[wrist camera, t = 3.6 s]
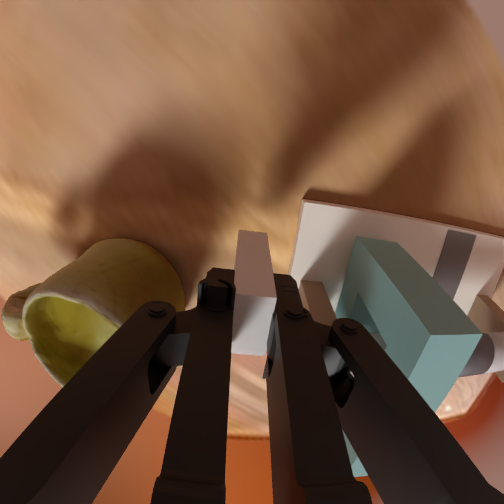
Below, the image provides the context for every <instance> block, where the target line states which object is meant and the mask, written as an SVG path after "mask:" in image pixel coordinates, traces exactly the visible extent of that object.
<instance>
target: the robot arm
mask: <svg viewBox="0 0 504 504" xmlns="http://www.w3.org/2000/svg"><path fill="white" fill-rule="evenodd" d="M266 350H267V353H268V355H267V360H266V365H265V369H264V374H263V378H264V379H265V378H266V382H267V399H268V416H269V434H270V450H271V468H272V488H273V504H372V501H371V497H370V493H369V490H368V488H367V486H366V485H365V484H364V483H363V482H360V481H356V479H355V478H354V475H353V472H352V468H351V463H350V459H349V455H348V451H347V447H346V442H345V438H344V434H343V431H344V433H345V435H346V437H347V438H348V440H349V442H350V444H351V446H352V447H353V449H354V451H355V453H356V454H357V456H358V458H359V460H360V462H361V463H362V465H363V467H364V469H365V471H366V472H367V474H368V476H369V477H370V479H371V481H372V483H373V485H374V486H375V488H376V490H377V492H378V494H379V495H380V497H381V499H382V501H383V502H384V504H504V494H502V493H501V492H500V491H498V490H497V489H495V488H494V487H493V486H491V485H490V484H488V482H487V481H486V480H485V478H484V477H483V476H482V474H481V473H480V471H479V470H478V469H477V467H476V466H475V465H474V464H473V462H472V461H471V459H470V458H469V457H468V455H467V454H466V453H465V452H464V450H463V449H462V447H461V446H460V445H459V444H458V442H457V441H456V440H455V438H454V437H453V436H452V435H451V433H450V432H449V431H448V429H447V428H446V427H445V425H444V424H443V423H442V422H441V420H440V419H439V418H438V416H437V415H436V414H435V413H434V411H433V410H432V409H431V408H430V406H429V405H428V404H427V402H426V401H425V400H424V399H423V397H422V396H421V395H420V394H419V392H418V391H417V390H416V389H415V387H414V386H413V385H412V384H411V383H410V381H409V380H408V379H407V378H406V376H405V375H404V374H403V373H402V371H401V370H400V369H399V368H398V367H397V365H396V364H395V363H394V362H393V360H392V359H391V358H390V357H389V356H388V354H387V353H386V352H385V351H384V350H383V348H382V347H381V346H380V345H379V344H378V342H377V341H376V340H375V339H374V338H373V336H372V335H371V334H370V333H369V332H368V331H367V329H366V328H365V327H364V326H363V325H362V324H361V323H360V322H358V321H356V320H354V319H350V318H338V319H336V320H334V321H333V323H332V326H329V325H325V324H321V323H318V322H316V321H314V320H313V318H312V315H311V313H310V312H309V311H308V310H307V309H306V308H304V307H303V304H302V301H301V297H300V293H299V289H298V286H297V282H296V280H295V279H294V278H293V277H292V276H291V275H285V274H275V273H273V269H272V263H271V256H270V250H269V243H268V237H267V233H264V232H255V231H246V230H239V232H238V240H237V249H236V257H235V266H234V270H230V269H221V268H212V269H211V270H210V271H208V272H207V276H206V278H205V279H203V280H201V281H200V282H199V284H198V298H197V307H195V308H193V309H191V310H187V311H178V312H176V310H175V307H174V306H173V305H172V304H170V303H168V302H165V301H150V302H146V303H144V304H143V305H141V306H140V307H139V308H138V309H137V310H136V311H135V312H134V313H133V314H132V315H131V316H130V317H129V318H128V319H127V320H126V321H125V323H124V324H123V325H122V326H121V327H120V328H119V329H118V330H117V331H116V332H115V333H114V334H113V335H112V336H111V337H110V338H109V339H108V340H107V341H106V342H105V343H104V344H103V345H102V346H101V347H100V348H99V349H98V350H97V352H96V353H95V354H94V355H93V356H92V357H91V358H90V359H89V360H88V361H87V362H86V363H85V364H84V365H83V366H82V367H81V368H80V369H79V371H78V372H77V373H76V374H75V375H74V376H73V377H72V378H71V379H70V380H69V381H68V382H67V383H66V385H65V386H64V387H63V388H62V389H61V390H60V391H59V392H58V393H57V394H56V395H55V397H54V398H53V399H52V400H51V401H50V402H49V403H48V405H46V406H45V408H44V409H43V410H42V411H41V412H40V413H39V414H38V415H37V417H36V418H35V419H34V420H33V421H32V422H31V423H30V425H29V426H28V427H27V428H26V429H25V430H24V431H23V432H22V434H21V435H20V436H19V437H18V438H17V439H16V441H15V442H14V443H13V444H12V445H11V446H10V448H9V449H8V450H7V451H6V452H5V453H4V454H3V456H2V457H1V458H0V504H92V502H93V501H94V499H95V497H96V496H97V494H98V493H99V491H100V490H101V488H102V487H103V485H104V483H105V481H106V480H107V479H108V477H109V475H110V474H111V472H112V471H113V469H114V467H115V466H116V464H117V463H118V461H119V459H120V458H121V456H122V455H123V453H124V451H125V450H126V448H127V446H128V445H129V443H130V442H131V440H132V439H133V437H134V436H135V434H136V432H137V431H138V429H139V428H140V426H141V424H142V423H143V421H144V420H145V418H146V416H147V415H148V413H149V412H150V410H151V409H152V407H153V405H154V404H155V402H156V401H157V399H158V397H159V396H160V394H161V393H162V391H163V389H164V388H165V386H166V385H167V383H168V382H169V380H170V378H171V377H172V375H173V374H174V372H175V370H176V367H177V366H180V365H183V367H182V372H181V376H180V381H179V386H178V390H177V395H176V400H175V404H174V409H173V414H172V419H171V424H170V429H169V434H168V439H167V444H166V449H165V454H164V459H163V465H162V470H161V474H160V476H158V477H157V478H156V481H155V485H154V488H153V493H152V499H151V504H225V493H226V491H225V490H226V488H225V464H226V441H227V421H228V402H229V383H230V365H231V353H235V354H246V355H258V356H265V355H266ZM350 372H352V374H353V376H354V377H353V376H352V374H351V373H350ZM342 429H343V430H342Z"/></svg>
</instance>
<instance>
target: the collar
mask: <svg viewBox="0 0 504 504" xmlns="http://www.w3.org/2000/svg"><path fill="white" fill-rule="evenodd" d="M335 315H336V318H337V319H338V318H350V319H354V320H356V321H358V322H360V323H361V324H362V325H363V326H364V327H365V328H366V329H367V331H368V332H369V333H380V334H381V335H382V337H383V339H384V341H385V343H386V345H387V347H386V349H385V352H386V353H387V354H388V356H389V357H390V358H391V359H392V360H393V362H394V363H395V364H396V365H397V367H398V368H399V369H400V370H401V371H402V373H403V374H404V375H405V376H406V378H407V379H408V380H409V381H410V383H411V384H412V385H413V386H414V387H415V389H416V390H417V391H418V392H419V394H420V395H421V396H422V397H423V399H424V400H425V401H426V402H427V404H428V405H429V406H430V408H431V409H432V410H433V411H434V413H435V411H436V410H437V409H438V407H439V406H440V404H441V403H442V401H443V400H444V398H445V397H446V395H447V394H448V392H449V391H450V389H451V388H452V386H453V385H454V383H455V382H456V380H457V378H458V377H459V375H460V373H461V372H462V370H463V368H464V367H465V365H466V363H467V362H468V360H469V358H470V356H471V355H472V353H473V351H474V349H475V347H476V346H477V344H478V342H479V340H480V338H481V336H482V332H481V331H480V330H479V329H478V328H477V326H476V325H475V324H474V323H473V322H472V321H471V319H470V318H469V317H468V316H467V315H466V314H465V313H464V312H463V310H462V309H461V308H460V307H459V306H458V305H457V304H456V303H455V301H454V300H453V299H452V298H451V297H450V296H449V295H448V294H447V293H446V292H445V291H444V290H443V288H442V287H441V286H440V285H439V284H438V283H437V282H436V281H435V280H434V279H433V278H432V277H431V276H430V275H429V274H428V273H427V272H426V271H425V270H424V269H423V268H422V267H421V266H420V265H419V264H418V263H417V262H416V261H415V260H414V259H413V258H412V257H411V256H410V255H409V254H408V253H407V252H406V251H405V250H404V249H403V248H402V247H401V246H400V245H399V244H398V243H397V242H392V241H385V240H378V239H371V238H364V237H357V236H356V238H355V242H354V246H353V250H352V254H351V258H350V262H349V265H348V269H347V273H346V276H345V280H344V284H343V287H342V291H341V294H340V297H339V301H338V304H337V308H336V311H335ZM342 430H343V429H342ZM343 434H344V438H345V442H346V447H347V451H348V455H349V459H350V463H351V468H352V472H353V475H354V477H358V476H366V475H368V474H367V472H366V471H365V469H364V467H363V465H362V463H361V462H360V460H359V458H358V456H357V454H356V453H355V451H354V449H353V447H352V446H351V444H350V442H349V440H348V438H347V437H346V435H345V433H344V431H343Z"/></svg>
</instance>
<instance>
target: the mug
mask: <svg viewBox="0 0 504 504" xmlns="http://www.w3.org/2000/svg"><path fill="white" fill-rule="evenodd" d="M150 301H165V302H168V303H170V304H172V305H173V306H174V307H175V310H176V312H178V311H185V295H184V291H183V288H182V284H181V281H180V279H179V276H178V274H177V273H176V271H175V270H174V268H173V267H172V266H171V265H170V263H169V262H168V261H167V260H166V259H165V258H164V257H163V256H162V255H161V254H160V253H159V252H158V251H157V250H156V249H155V248H153V247H151V246H149V245H148V244H146V243H144V242H139V241H135V240H132V239H124V238H114V239H105V240H101V241H99V242H97V243H95V244H94V245H92V246H91V247H90V248H89V249H87V250H86V251H85V252H84V253H83V254H82V255H81V256H80V257H79V258H78V259H76V260H75V261H73V262H72V263H70V264H68V265H67V266H65V267H63V268H62V269H60V270H59V271H58V272H56V273H55V274H53V275H52V276H50V277H49V278H48V279H46V280H45V281H44V282H43V283H39V284H36V285H33V286H30V287H28V288H27V289H25V290H23V291H19V292H17V293H15V294H12V295H11V296H10V297H9V298H8V300H7V302H6V303H5V305H4V307H3V309H2V320H3V323H4V326H5V329H6V331H7V332H8V334H9V335H11V336H12V337H13V338H15V339H17V340H21V341H24V340H28V339H29V340H30V343H31V346H32V349H33V351H34V354H35V356H36V357H37V359H38V360H39V361H40V363H41V364H42V365H43V367H44V369H45V370H46V371H47V372H48V373H49V374H50V375H51V377H52V378H53V379H54V380H55V381H56V382H57V383H58V384H60V385H61V386H62V387H64V386H65V385H66V383H67V382H68V381H69V380H70V379H71V378H72V377H73V376H74V375H75V374H76V373H77V372H78V371H79V369H80V368H81V367H82V366H83V365H84V364H85V363H86V362H87V361H88V360H89V359H90V358H91V357H92V356H93V355H94V354H95V353H96V352H97V350H98V349H99V348H100V347H101V346H102V345H103V344H104V343H105V342H106V341H107V340H108V339H109V338H110V337H111V336H112V335H113V334H114V333H115V332H116V331H117V330H118V329H119V328H120V327H121V326H122V325H123V324H124V323H125V321H126V320H127V319H128V318H129V317H130V316H131V315H132V314H133V313H134V312H135V311H136V310H137V309H138V308H139V307H140V306H141V305H143V304H144V303H146V302H150Z"/></svg>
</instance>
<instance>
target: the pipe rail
mask: <svg viewBox="0 0 504 504" xmlns="http://www.w3.org/2000/svg"><path fill="white" fill-rule="evenodd" d="M356 236H357V237H364V238H371V239H378V240H385V241H392V242H397V243H398V244H399V245H400V246H401V247H402V248H403V249H404V250H405V251H406V252H407V253H408V254H409V255H410V256H411V257H412V258H413V259H414V260H415V261H416V262H417V263H418V264H419V265H420V266H421V267H422V268H423V269H424V270H425V271H426V272H427V273H428V274H429V275H430V276H431V277H432V278H433V279H434V280H435V281H436V282H437V283H438V284H439V285H440V286H441V287H442V288H443V290H444V291H445V292H446V293H447V294H448V295H449V296H450V297H451V298H452V299H453V300H454V301H455V303H456V304H457V305H458V306H459V307H460V308H461V309H462V310H463V312H464V313H465V314H466V315H467V316H468V317H469V318H470V319H471V321H472V322H473V323H474V324H475V325H476V326H477V328H478V329H479V330H480V331H481V332H482V336H481V338H480V340H479V342H478V344H477V346H476V347H475V349H474V351H473V353H472V355H471V356H470V358H469V360H468V362H467V363H466V365H465V367H464V368H463V370H462V372H461V373H460V375H459V377H464V376H471V375H478V374H485V373H491V372H495V373H496V375H497V376H498V377H499V379H500V380H501V381H502V382H504V311H503V310H502V309H501V308H500V307H499V306H498V305H497V304H496V303H495V302H494V301H493V300H492V299H491V297H492V295H493V293H494V290H495V288H496V286H497V283H498V281H499V278H500V276H501V273H502V270H503V268H504V237H502V236H498V235H494V234H489V233H485V232H481V231H476V230H472V229H468V228H463V227H458V226H454V225H449V224H444V223H440V222H435V221H430V220H425V219H420V218H415V217H409V216H404V215H399V214H393V213H388V212H382V211H376V210H371V209H365V208H359V207H353V206H347V205H340V204H334V203H328V202H321V201H314V200H307V199H302V203H301V209H300V215H299V220H298V226H297V231H296V236H295V242H294V247H293V252H292V258H291V263H290V268H289V273H288V275H291V276H292V277H293V278H294V279H295V280H296V282H297V286H298V289H299V293H300V297H301V301H302V304H303V307H304V308H306V309H307V310H308V311H309V312H310V313H311V315H312V318H313V320H314V321H316V322H318V323H321V324H325V325H329V326H332V323H333V321H334V320H336V319H337V318H336V315H335V311H336V308H337V304H338V301H339V297H340V294H341V291H342V287H343V284H344V280H345V276H346V273H347V269H348V265H349V262H350V258H351V254H352V250H353V246H354V242H355V238H356ZM370 334H371V335H372V336H373V338H374V339H375V340H376V341H377V342H378V344H379V345H380V346H381V347H382V348H383V350H384V351H385V349H386V347H387V345H386V343H385V341H384V339H383V337H382V335H381V334H380V333H370ZM350 373H351V374H352V372H350ZM352 376H353V374H352ZM353 377H354V376H353Z"/></svg>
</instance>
